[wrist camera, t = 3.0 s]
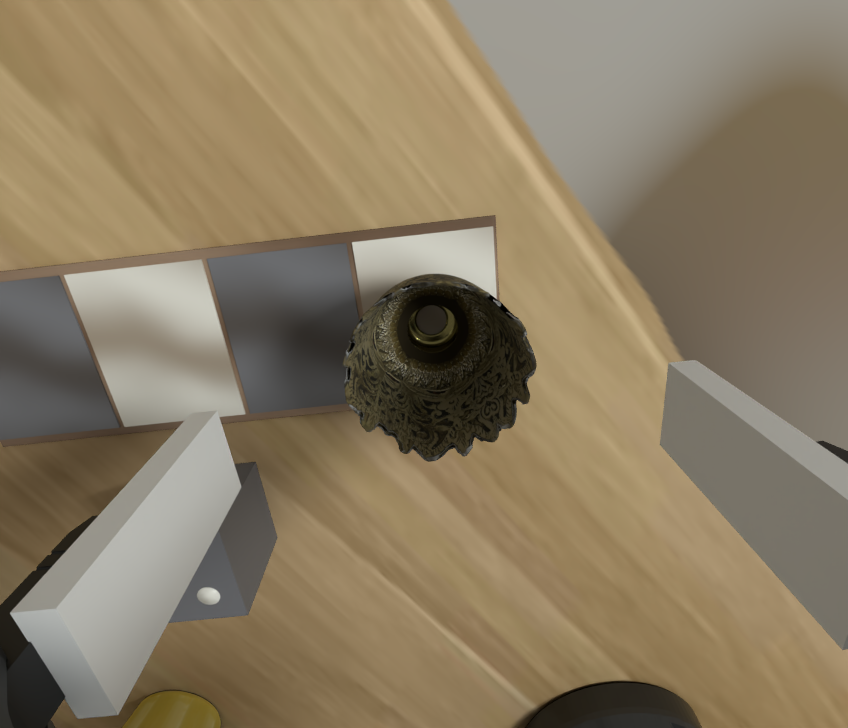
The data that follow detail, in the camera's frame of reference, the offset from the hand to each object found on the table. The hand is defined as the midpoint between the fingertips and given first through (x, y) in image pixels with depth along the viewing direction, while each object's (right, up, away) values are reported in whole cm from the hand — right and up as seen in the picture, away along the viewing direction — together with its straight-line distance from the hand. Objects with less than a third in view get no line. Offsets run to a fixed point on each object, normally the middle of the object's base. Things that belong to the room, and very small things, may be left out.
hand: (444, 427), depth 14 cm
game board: (-11, +3, +12) cm, 17 cm away
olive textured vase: (0, +4, +12) cm, 12 cm away
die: (-14, -7, +16) cm, 23 cm away
